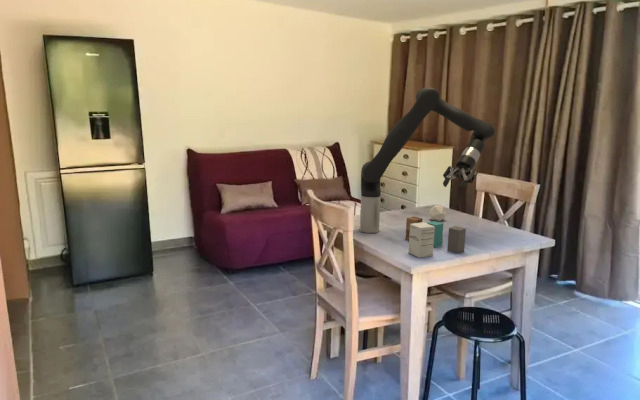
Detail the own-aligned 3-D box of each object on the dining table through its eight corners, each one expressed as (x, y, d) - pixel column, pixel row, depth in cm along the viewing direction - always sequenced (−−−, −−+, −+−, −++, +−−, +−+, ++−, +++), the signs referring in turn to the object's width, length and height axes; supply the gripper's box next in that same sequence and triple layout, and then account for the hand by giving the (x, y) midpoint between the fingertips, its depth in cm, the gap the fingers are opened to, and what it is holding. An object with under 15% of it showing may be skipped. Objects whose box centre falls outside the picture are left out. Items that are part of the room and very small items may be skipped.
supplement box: (407, 252, 205) (409, 223, 202) (422, 250, 208) (424, 221, 206) (418, 258, 198) (420, 227, 196) (433, 256, 202) (435, 226, 199)
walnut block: (414, 241, 221) (415, 220, 219) (405, 239, 225) (406, 218, 222) (421, 239, 224) (422, 218, 222) (412, 237, 228) (413, 216, 226)
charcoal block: (457, 253, 205) (459, 230, 203) (447, 250, 209) (448, 228, 207) (464, 251, 208) (466, 228, 206) (453, 248, 212) (455, 226, 210)
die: (449, 222, 260) (445, 205, 264) (445, 217, 253) (441, 200, 257) (434, 225, 263) (430, 209, 267) (429, 221, 256) (426, 204, 260)
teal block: (435, 247, 213) (436, 225, 211) (425, 245, 217) (427, 222, 215) (441, 245, 216) (443, 223, 214) (432, 242, 220) (433, 221, 218)
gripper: (451, 152, 227) (435, 179, 222) (480, 155, 217) (463, 184, 212) (457, 163, 232) (442, 190, 227) (485, 166, 222) (469, 194, 216)
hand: (452, 187), depth 219 cm, fingers open, 8 cm apart
